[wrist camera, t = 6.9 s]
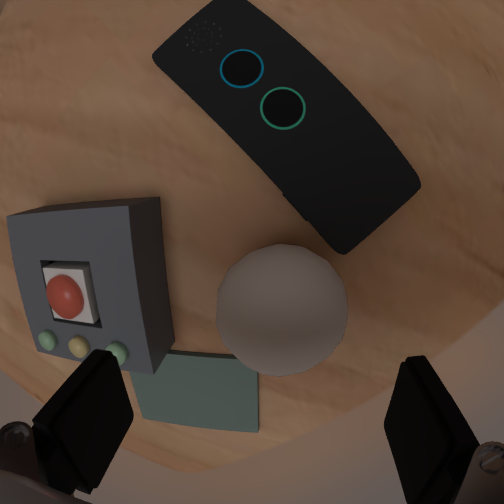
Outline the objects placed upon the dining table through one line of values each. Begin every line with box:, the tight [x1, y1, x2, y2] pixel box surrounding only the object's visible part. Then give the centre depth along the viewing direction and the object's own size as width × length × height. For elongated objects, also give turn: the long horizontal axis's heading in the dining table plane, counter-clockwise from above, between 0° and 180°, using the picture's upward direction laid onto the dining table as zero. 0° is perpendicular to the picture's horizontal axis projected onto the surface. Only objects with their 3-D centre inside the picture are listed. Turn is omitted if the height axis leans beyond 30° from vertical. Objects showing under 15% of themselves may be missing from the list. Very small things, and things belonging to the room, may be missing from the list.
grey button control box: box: [6, 197, 175, 375], centre depth 22 cm, size 12×12×6 cm
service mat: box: [129, 350, 259, 433], centre depth 27 cm, size 12×9×1 cm
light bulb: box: [216, 244, 348, 377], centre depth 18 cm, size 7×7×11 cm
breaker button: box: [43, 261, 100, 324], centre depth 21 cm, size 4×4×4 cm
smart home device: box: [152, 0, 421, 255], centre depth 20 cm, size 8×2×20 cm
